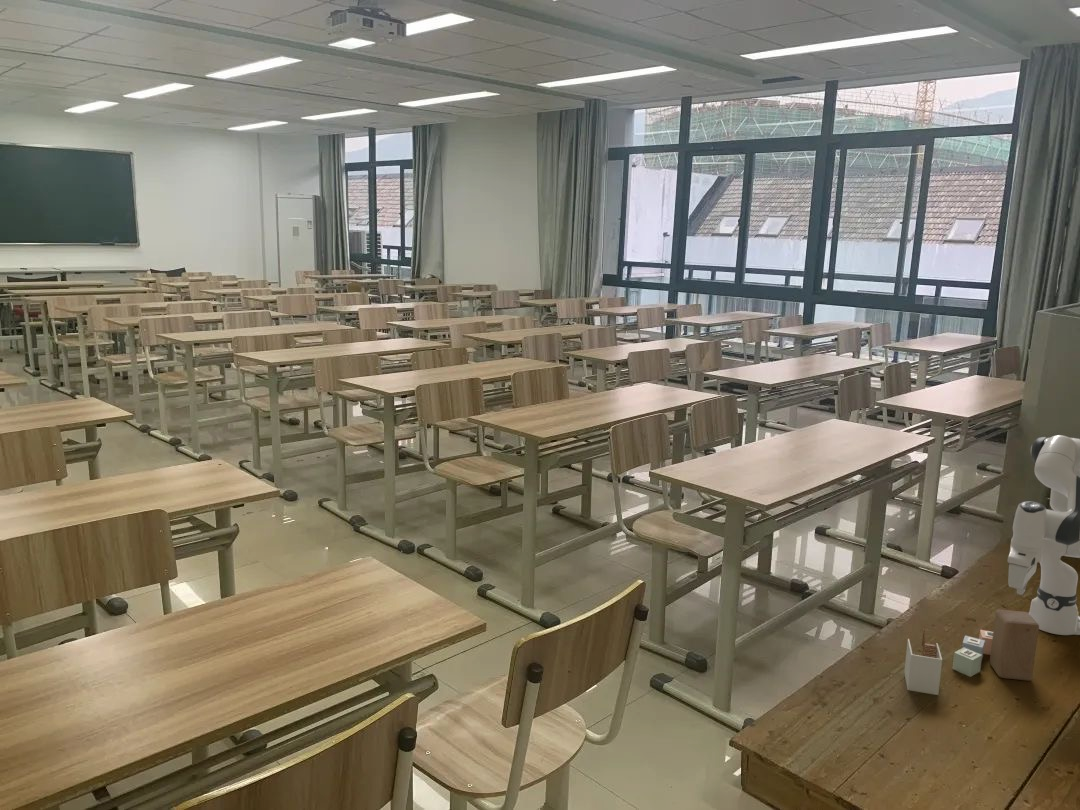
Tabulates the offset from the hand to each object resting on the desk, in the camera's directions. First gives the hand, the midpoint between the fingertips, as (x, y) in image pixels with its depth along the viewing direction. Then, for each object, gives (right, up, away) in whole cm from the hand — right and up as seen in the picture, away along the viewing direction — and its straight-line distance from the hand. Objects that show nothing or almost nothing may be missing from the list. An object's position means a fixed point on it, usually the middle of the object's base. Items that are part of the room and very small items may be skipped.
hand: (1020, 593), depth 253 cm
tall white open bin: (-33, -29, -1) cm, 44 cm away
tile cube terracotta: (+1, -25, +20) cm, 32 cm away
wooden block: (0, -28, +6) cm, 28 cm away
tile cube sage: (-14, -27, +7) cm, 31 cm away
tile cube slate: (-7, -26, +15) cm, 31 cm away
